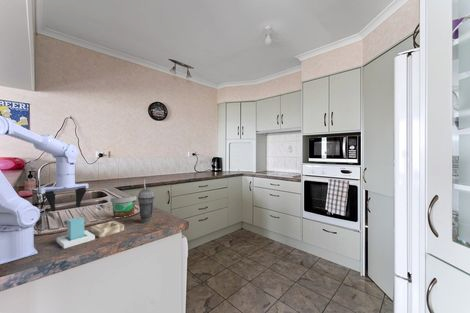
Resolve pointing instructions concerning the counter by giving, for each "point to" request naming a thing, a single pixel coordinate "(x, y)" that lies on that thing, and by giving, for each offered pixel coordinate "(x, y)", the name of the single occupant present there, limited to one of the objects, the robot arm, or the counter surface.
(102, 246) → the counter surface
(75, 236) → the teal plug
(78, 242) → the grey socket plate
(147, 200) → the beverage cup
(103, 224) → the ash socket block
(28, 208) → the robot arm
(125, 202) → the food container
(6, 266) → the counter surface
